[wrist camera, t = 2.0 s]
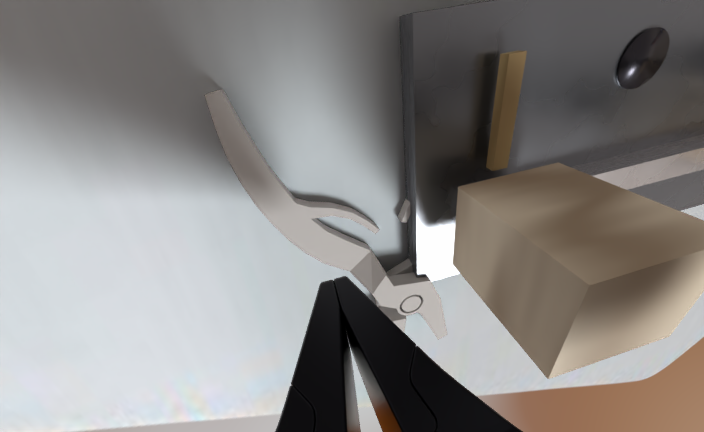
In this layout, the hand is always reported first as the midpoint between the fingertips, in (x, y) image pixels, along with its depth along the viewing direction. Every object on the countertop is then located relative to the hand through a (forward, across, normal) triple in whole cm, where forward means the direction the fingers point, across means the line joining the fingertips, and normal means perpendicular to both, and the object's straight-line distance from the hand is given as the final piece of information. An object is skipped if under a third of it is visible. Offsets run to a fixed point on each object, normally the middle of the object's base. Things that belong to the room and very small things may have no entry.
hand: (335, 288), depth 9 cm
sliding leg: (+2, -7, -2) cm, 8 cm away
